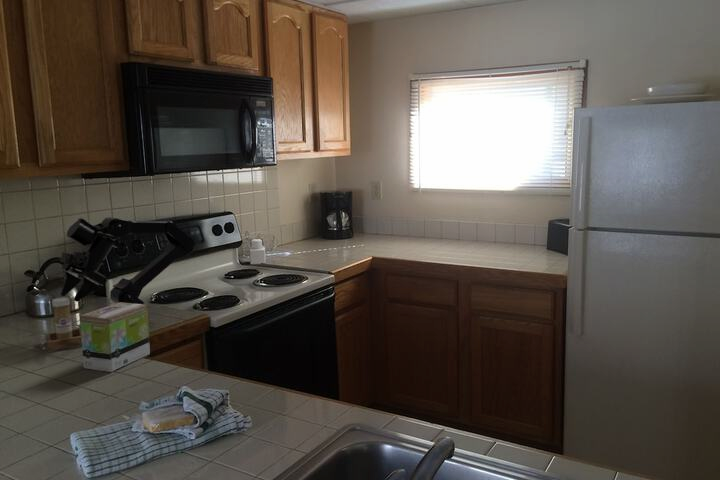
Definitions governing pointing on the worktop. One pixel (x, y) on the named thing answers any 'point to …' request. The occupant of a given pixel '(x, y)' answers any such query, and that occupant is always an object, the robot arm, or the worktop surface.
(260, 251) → the medicine bottle
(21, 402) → the worktop surface
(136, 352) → the tea box
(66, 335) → the sprinkles bottle
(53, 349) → the square wooden tray
